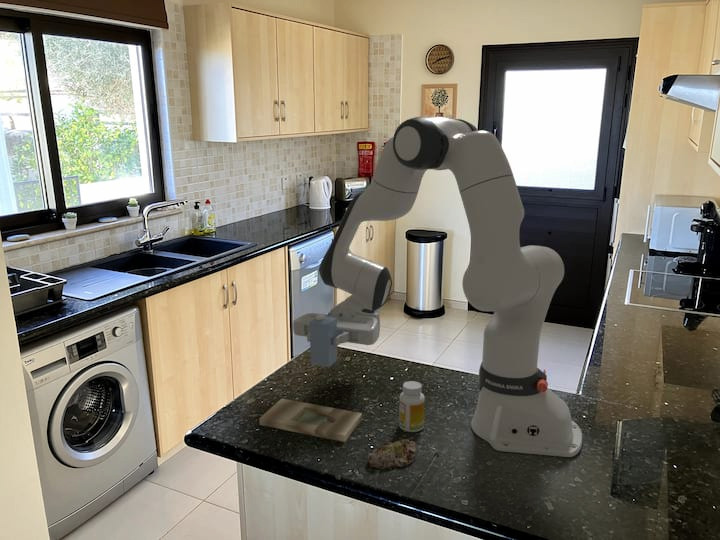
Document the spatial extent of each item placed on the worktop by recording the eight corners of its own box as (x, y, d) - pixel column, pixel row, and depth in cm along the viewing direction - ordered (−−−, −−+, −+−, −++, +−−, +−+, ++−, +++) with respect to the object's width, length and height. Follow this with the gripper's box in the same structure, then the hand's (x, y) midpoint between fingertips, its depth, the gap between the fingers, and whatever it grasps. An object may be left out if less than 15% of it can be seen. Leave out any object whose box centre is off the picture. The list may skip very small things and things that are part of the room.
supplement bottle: (427, 423, 126) (428, 382, 124) (419, 435, 122) (420, 392, 119) (404, 418, 129) (404, 377, 126) (395, 429, 124) (395, 387, 122)
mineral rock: (399, 430, 120) (422, 437, 113) (403, 451, 120) (426, 459, 113) (355, 447, 114) (377, 456, 107) (359, 469, 114) (381, 479, 107)
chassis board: (362, 419, 128) (362, 413, 128) (344, 442, 119) (344, 435, 119) (281, 404, 135) (281, 398, 135) (259, 424, 126) (259, 418, 126)
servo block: (337, 359, 132) (336, 314, 129) (329, 367, 128) (328, 320, 125) (319, 356, 134) (318, 312, 131) (310, 364, 130) (309, 318, 127)
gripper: (307, 304, 144) (280, 321, 132) (385, 313, 137) (364, 332, 124) (308, 328, 146) (281, 347, 133) (385, 338, 138) (364, 359, 126)
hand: (321, 340), depth 129 cm, fingers closed on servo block, 4 cm apart
